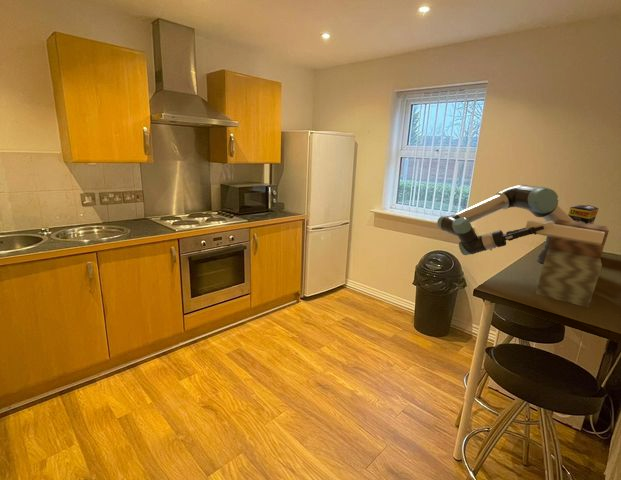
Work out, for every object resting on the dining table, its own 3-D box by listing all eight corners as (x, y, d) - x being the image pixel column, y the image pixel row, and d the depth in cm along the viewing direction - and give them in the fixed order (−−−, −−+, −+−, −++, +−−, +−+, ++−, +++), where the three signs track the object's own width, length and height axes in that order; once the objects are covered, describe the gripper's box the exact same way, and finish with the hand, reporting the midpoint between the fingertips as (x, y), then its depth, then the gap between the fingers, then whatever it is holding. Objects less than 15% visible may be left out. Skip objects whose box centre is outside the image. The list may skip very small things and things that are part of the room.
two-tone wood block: (535, 293, 144) (553, 226, 136) (540, 278, 164) (556, 219, 156) (588, 307, 133) (611, 235, 126) (586, 289, 153) (606, 226, 146)
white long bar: (524, 231, 146) (527, 220, 145) (525, 230, 149) (528, 219, 148) (601, 245, 131) (604, 233, 130) (600, 243, 134) (604, 231, 133)
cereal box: (575, 260, 204) (592, 208, 195) (553, 254, 212) (569, 205, 203) (583, 254, 221) (600, 206, 212) (563, 249, 229) (578, 203, 220)
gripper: (500, 244, 162) (557, 229, 147) (493, 250, 149) (555, 235, 134) (495, 230, 163) (551, 213, 148) (487, 235, 149) (548, 217, 135)
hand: (553, 224), depth 141 cm, fingers closed on white long bar, 4 cm apart
